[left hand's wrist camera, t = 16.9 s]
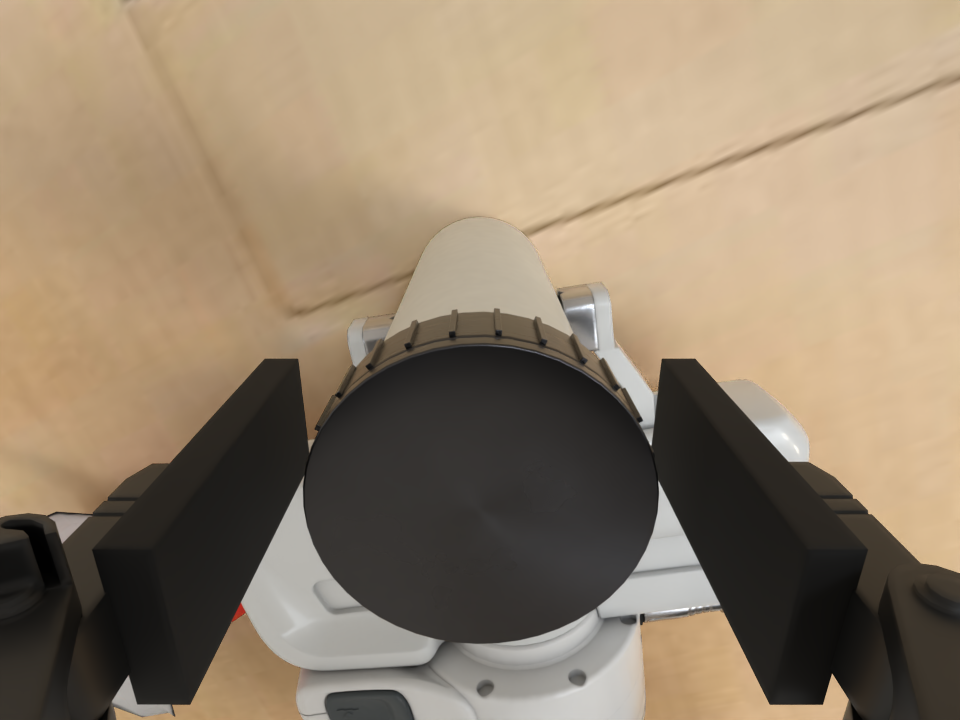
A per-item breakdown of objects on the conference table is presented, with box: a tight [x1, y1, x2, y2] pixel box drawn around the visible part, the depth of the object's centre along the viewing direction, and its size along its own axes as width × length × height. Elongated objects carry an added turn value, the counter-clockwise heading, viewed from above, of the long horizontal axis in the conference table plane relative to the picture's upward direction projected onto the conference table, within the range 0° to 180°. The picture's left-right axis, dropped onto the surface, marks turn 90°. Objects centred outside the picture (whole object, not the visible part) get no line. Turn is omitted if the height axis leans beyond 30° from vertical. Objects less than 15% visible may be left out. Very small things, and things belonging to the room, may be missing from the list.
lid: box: [303, 308, 659, 644], centre depth 11 cm, size 6×6×2 cm
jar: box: [384, 217, 574, 341], centre depth 18 cm, size 5×5×16 cm
